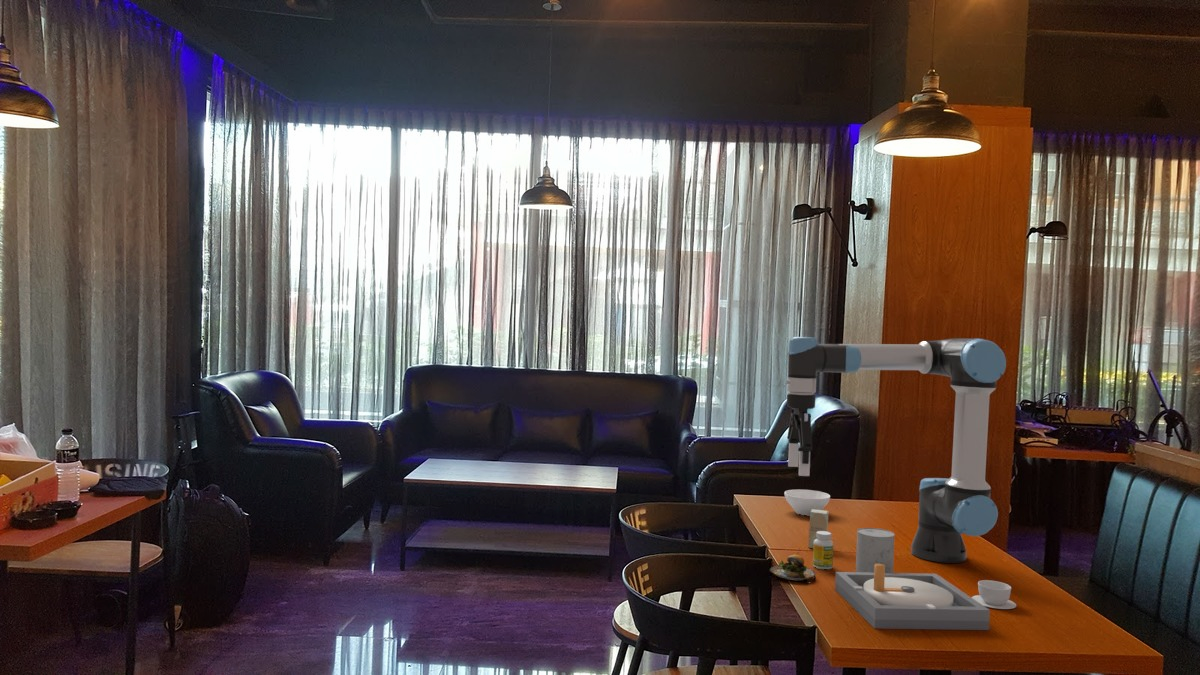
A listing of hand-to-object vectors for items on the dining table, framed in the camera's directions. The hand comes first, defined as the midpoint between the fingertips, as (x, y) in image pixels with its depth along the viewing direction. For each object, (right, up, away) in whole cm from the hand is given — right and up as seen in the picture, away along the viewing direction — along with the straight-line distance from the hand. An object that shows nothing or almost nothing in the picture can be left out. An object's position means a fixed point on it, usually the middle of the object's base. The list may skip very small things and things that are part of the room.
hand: (798, 471), depth 219 cm
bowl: (+20, -27, +69) cm, 76 cm away
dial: (+19, -26, -28) cm, 42 cm away
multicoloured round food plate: (-3, -28, -6) cm, 28 cm away
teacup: (+43, -29, -22) cm, 56 cm away
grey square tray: (+19, -28, -28) cm, 44 cm away
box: (+12, -27, +24) cm, 38 cm away
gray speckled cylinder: (+19, -28, -5) cm, 34 cm away
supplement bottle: (+8, -28, +4) cm, 29 cm away
